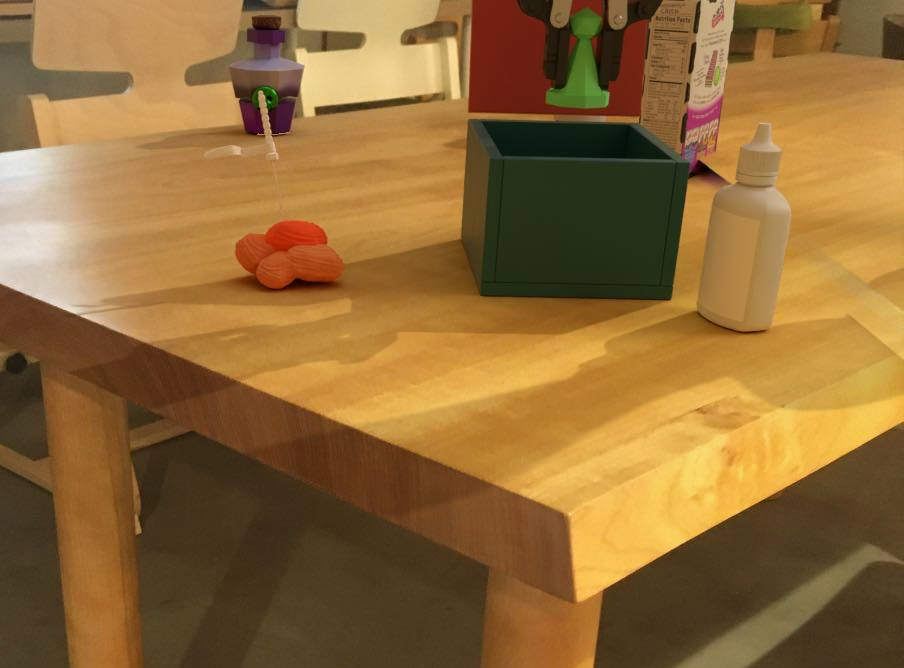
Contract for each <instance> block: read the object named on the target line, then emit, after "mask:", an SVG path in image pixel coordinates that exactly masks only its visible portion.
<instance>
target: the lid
mask: <svg viewBox="0 0 904 668" xmlns="http://www.w3.org/2000/svg"><path fill="white" fill-rule="evenodd" d="M546 1H548V0H546ZM628 1H631V0H628ZM586 7H588V8H589V9H591V10H592V11H593V12H595V13H596V14H597V15H599V16H600V17H601V18H602V0H572V5H571V10H570V15H569V17H570V16H572V15H573V14H575V13H577V12H579V11H581V10H583V9H584V8H586ZM470 13H471V15H470V39H469V40H470V44H469V70H468V73H469V74H468V97H467V99H468V100H467V114H494V115H495V114H498V115H499V114H503V115H539V116H544V115H545V116H554V115H578V116H606V117H620V118H621V117H622V118H623V117H624V118H626V117H628V118H639V116H641V104H642V89H643V80H644V69H645V58H646V43H647V41H646V39H647V25H648V20H641V21H639V22H636V23H633V24H631V25H629V26H628V27H627V29H626V30H625V33H624V39H623V47H622V56H621V64H620V73H619V75H618V77H617V79H616V81H609V87H608V90H604V91H606V92H610V93H609V102H608V105H607V106H606V107H604V108H572V107H559V106H555V105H551V104H547V103H546V94H547V91H548V90H549V89H551V88H552V87H551V80H550V79H546V78H545V77H544V73H543V70H542V66H543V55H544V43H545V32H546V29H545V25H544V23H543V22H542V21H541V20H538V19H536V18H534V17H530V16H528V15H526V14H525V13H523V12H522V11H521V10H520V8H519V5H518V3H517V0H471V12H470ZM602 25H603V21H602ZM568 29H569V20H568ZM576 40H577V38H576V37H574V36H573V35H572V34H571V36H570V47H569V56H570V54H571V51H572V49H573V47H574V45H575V43H576ZM591 41H592V45H593V49H594V53H595V55H596V45H597V36H596V37H594V38H592V39H591ZM568 58H569V57H568Z"/></svg>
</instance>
